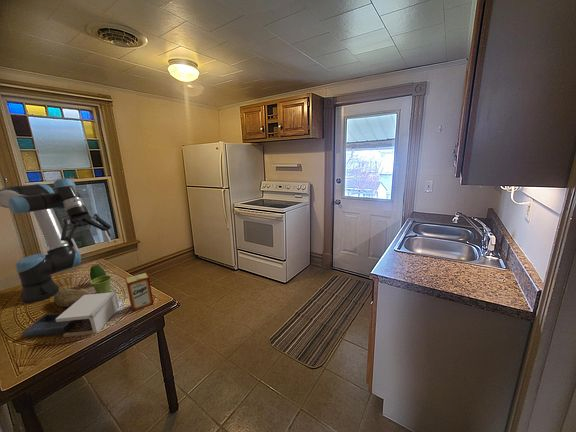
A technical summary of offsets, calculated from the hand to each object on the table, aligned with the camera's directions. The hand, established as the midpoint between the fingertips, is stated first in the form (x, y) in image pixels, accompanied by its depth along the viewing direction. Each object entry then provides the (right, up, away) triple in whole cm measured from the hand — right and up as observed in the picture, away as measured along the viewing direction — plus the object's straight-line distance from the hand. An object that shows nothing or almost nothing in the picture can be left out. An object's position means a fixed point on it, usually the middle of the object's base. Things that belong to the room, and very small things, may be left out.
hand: (94, 247), depth 119 cm
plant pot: (-10, -29, +20) cm, 37 cm away
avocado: (-22, -26, +32) cm, 47 cm away
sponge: (-20, -32, +11) cm, 39 cm away
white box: (+3, -35, -4) cm, 35 cm away
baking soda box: (+19, -31, +8) cm, 38 cm away
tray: (-12, -36, -7) cm, 38 cm away
